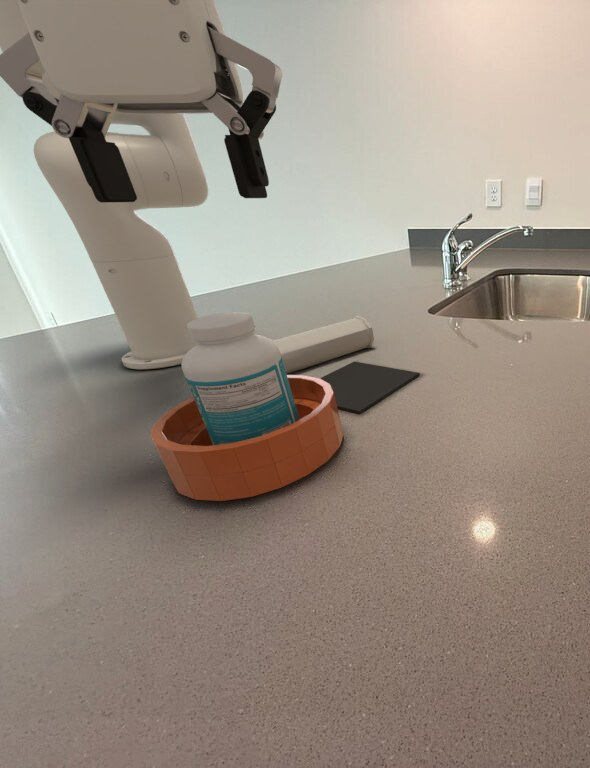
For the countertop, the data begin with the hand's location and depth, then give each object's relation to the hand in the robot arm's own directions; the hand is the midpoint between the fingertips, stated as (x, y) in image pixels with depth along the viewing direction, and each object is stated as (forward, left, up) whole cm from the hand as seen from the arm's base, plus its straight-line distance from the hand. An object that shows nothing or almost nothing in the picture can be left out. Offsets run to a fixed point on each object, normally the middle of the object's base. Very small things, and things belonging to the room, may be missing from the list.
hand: (188, 199), depth 31 cm
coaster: (-3, +16, -23) cm, 28 cm away
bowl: (0, 0, -23) cm, 23 cm away
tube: (-16, +17, -23) cm, 33 cm away
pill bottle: (0, 0, -23) cm, 23 cm away
